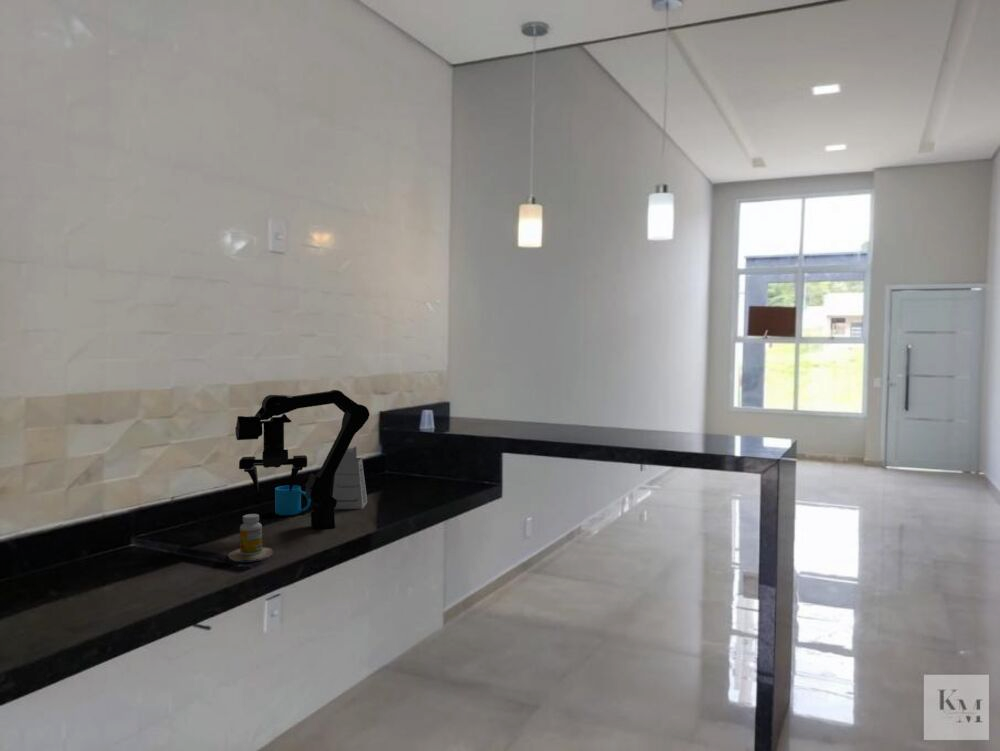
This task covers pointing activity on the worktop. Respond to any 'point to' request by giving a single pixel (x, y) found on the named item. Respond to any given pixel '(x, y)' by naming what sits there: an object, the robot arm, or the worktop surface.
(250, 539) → the supplement bottle
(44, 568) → the worktop surface
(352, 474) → the grater
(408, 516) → the worktop surface
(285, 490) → the mug
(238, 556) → the oak coaster
